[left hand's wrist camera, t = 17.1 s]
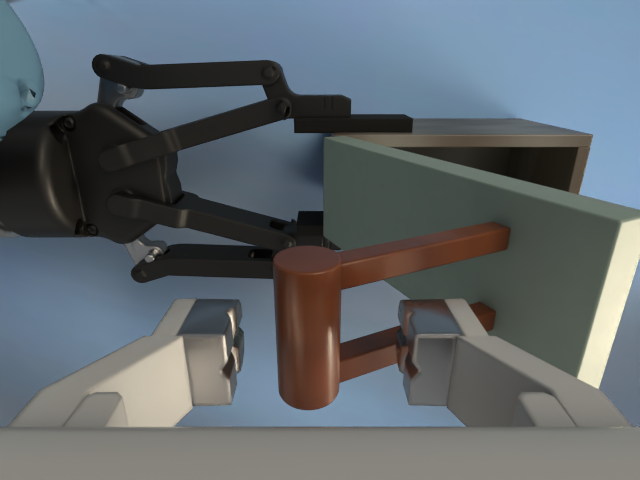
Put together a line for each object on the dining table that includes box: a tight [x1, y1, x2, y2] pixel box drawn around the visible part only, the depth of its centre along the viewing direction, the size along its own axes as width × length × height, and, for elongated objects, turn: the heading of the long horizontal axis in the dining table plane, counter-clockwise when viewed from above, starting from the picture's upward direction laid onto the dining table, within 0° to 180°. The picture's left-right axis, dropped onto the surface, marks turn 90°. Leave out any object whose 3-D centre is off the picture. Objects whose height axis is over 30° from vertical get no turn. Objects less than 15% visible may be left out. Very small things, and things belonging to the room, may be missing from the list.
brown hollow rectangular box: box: [330, 119, 593, 195], centre depth 27 cm, size 14×5×9 cm, turn 90°
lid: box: [273, 136, 640, 410], centre depth 15 cm, size 15×5×8 cm
